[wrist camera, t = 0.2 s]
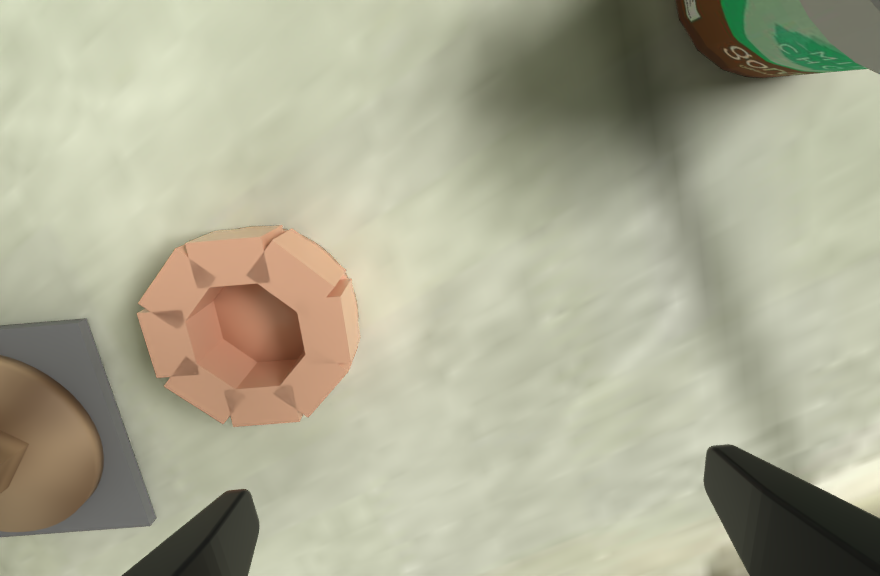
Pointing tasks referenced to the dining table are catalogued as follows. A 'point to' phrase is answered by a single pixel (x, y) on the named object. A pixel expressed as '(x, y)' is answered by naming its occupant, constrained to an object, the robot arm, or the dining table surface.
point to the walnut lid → (43, 450)
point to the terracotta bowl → (251, 324)
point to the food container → (785, 35)
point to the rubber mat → (82, 373)
